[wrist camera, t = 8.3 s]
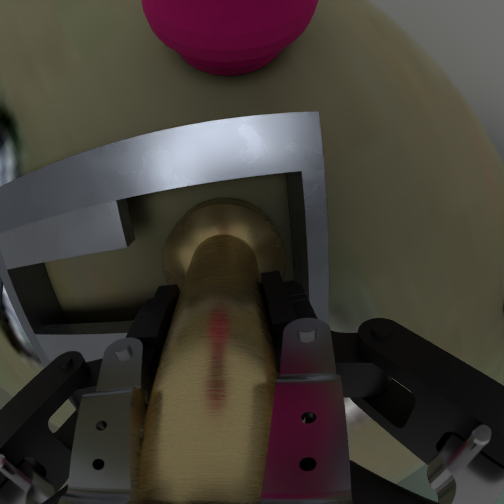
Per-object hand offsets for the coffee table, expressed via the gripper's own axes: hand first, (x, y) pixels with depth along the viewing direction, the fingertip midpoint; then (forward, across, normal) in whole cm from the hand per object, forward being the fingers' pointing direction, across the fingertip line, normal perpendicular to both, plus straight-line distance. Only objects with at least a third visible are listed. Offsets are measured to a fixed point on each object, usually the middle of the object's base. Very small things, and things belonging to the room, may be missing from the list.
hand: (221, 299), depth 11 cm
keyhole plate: (+5, +5, 0) cm, 7 cm away
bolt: (+5, 0, 0) cm, 5 cm away
